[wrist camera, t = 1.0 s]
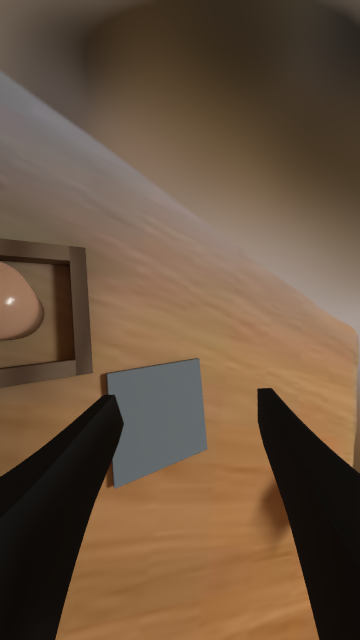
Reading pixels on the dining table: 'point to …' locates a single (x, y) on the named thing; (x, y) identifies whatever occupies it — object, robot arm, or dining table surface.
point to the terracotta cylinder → (17, 306)
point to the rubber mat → (157, 417)
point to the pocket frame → (80, 310)
